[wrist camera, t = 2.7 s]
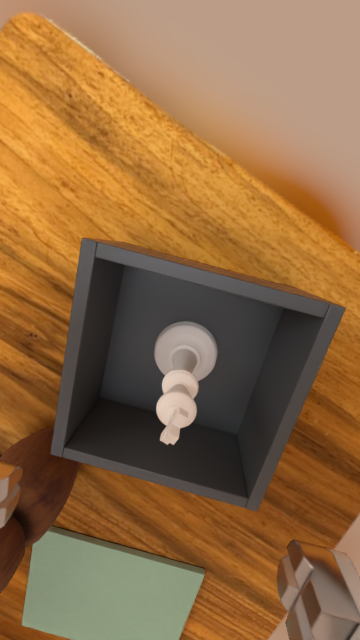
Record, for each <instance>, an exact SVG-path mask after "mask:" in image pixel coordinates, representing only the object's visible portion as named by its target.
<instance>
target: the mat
mask: <svg viewBox="0 0 360 640" xmlns="http://www.w3.org/2000/svg"><path fill="white" fill-rule="evenodd" d="M204 575H205V569H203V568H200V567H196V566H193V565H189V564H186V563H182V562H178V561H175V560H171V559H168V558H164V557H161V556H157V555H154V554H150V553H146V552H143V551H139V550H136V549H132V548H129V547H125V546H122V545H118V544H114V543H111V542H107V541H104V540H100V539H97V538H93V537H90V536H86V535H83V534H79V533H75V532H72V531H68V530H65V529H61V528H58V527H54V526H51V527H50V528H49V530H48V531H47V532H46V533H45V534H44V535H43V536H42V537H41V539H40V540H39V541H37V542H35V543H33V547H32V554H31V561H30V569H29V576H28V583H27V590H26V597H25V604H24V611H23V618H22V625H23V626H26V627H30V628H33V629H37V630H40V631H44V632H47V633H51V634H54V635H58V636H61V637H65V638H68V639H72V640H179V638H180V635H181V633H182V630H183V628H184V625H185V623H186V620H187V618H188V615H189V613H190V610H191V608H192V605H193V603H194V600H195V598H196V595H197V593H198V590H199V588H200V585H201V583H202V580H203V578H204Z"/></svg>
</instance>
